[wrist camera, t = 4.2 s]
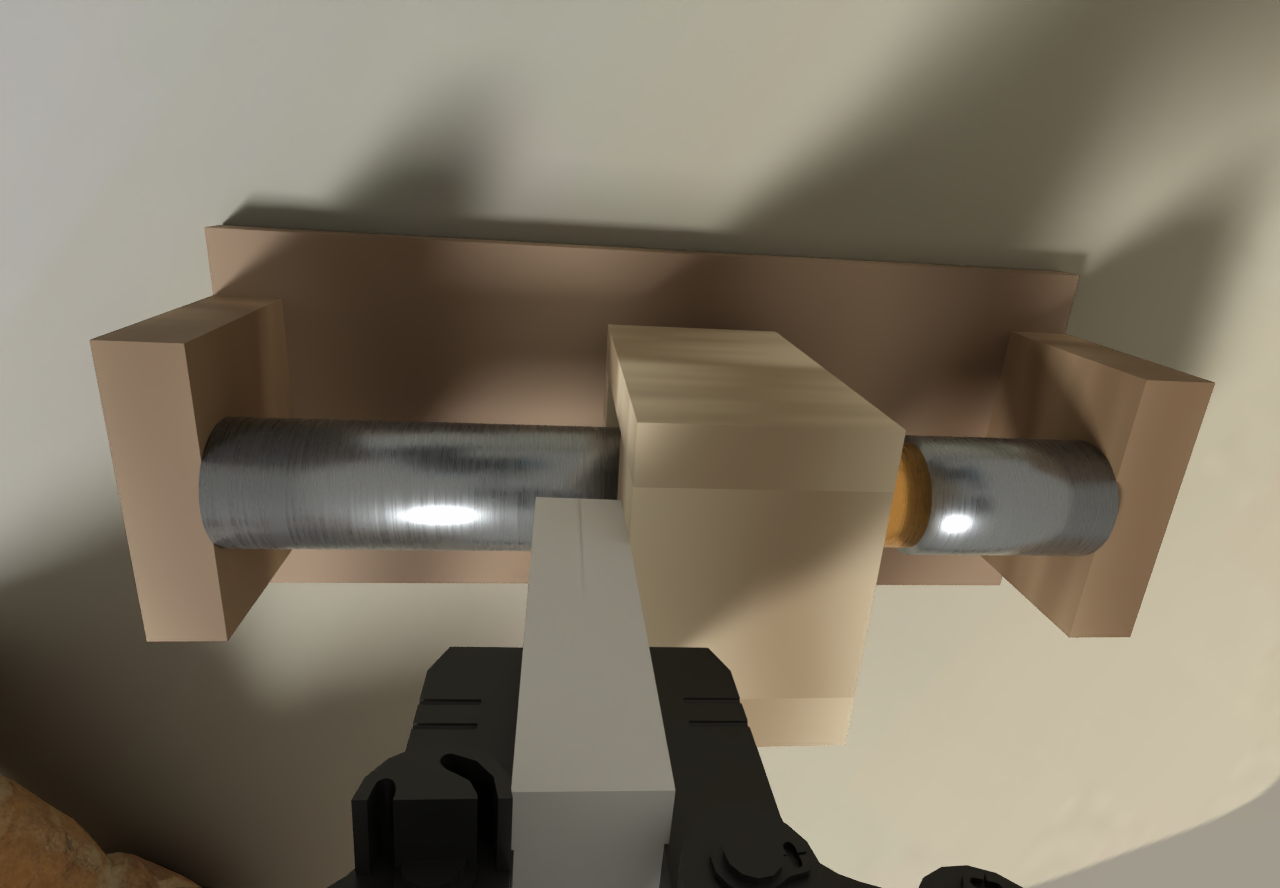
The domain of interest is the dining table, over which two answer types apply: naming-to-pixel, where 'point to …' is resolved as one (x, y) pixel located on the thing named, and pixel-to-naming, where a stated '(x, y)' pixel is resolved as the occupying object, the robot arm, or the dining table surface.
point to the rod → (601, 487)
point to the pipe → (64, 851)
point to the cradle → (575, 389)
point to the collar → (753, 514)
